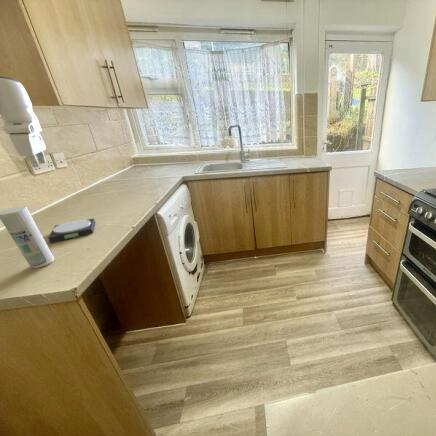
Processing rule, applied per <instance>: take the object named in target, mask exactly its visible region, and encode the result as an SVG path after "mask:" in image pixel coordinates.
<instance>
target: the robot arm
mask: <svg viewBox="0 0 436 436" xmlns="http://www.w3.org/2000/svg"><path fill="white" fill-rule="evenodd" d="M0 119H2V122H3V124H4V125H3V131H4V133H5V134H7V135H8V136H9V139H10V141H11V143H12V145H13V147H14V149H15V150H16V152H17V154H18V155H20V157H26V159H27V160H28V161H29V163H30V164H31V167H32V168H34V169H35V168H39V167H40V166H41V164H46V163H47V161H46V158H45V153H44V151H46V150H47V146H46V144H45V141H44V139H43V137H42V134H41V133H40V132H43V129H42V127H41V124H40V121H39V119H38V116H37V115H36V113H35V112H34V111H33V103H32V101H31V99H30V97H29V94H28V92H27V90H26V88H25V87H24V85H23V84H22V83H21V82H20V81H19V80H18V79H14V78H11V77H5V76H2V75H0Z"/></svg>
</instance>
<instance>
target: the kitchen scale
mask: <svg viewBox="0 0 436 436" xmlns="http://www.w3.org/2000/svg"><path fill="white" fill-rule="evenodd" d="M95 226H96V220H95V218H89V219H76V220H72V221H68V222H64V223H62V224H61V223H60V224H56V225H54V227H53V229H52V230H51V232H50V233H49V235H48V237H47V239H48V241H49V243H50V244H53V243H58V242H61V241H67V240H71V239H75V238H80V236H81V237H84V235H85V236H89V235H93V234H94V231H95ZM92 233H93V234H92ZM88 234H89V235H88Z"/></svg>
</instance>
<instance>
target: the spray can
mask: <svg viewBox="0 0 436 436" xmlns="http://www.w3.org/2000/svg"><path fill="white" fill-rule="evenodd" d="M0 221H1V223H2V224H3V226H4V227H5V229H6V230H7V232H8V234H9V236H10V237H11V238H12V240H13V241H14V243H15V245H16V247H17V248H18V249H19V251H20V252H21V254H22V256H23V258H24V259H25V260H26V262H27V264H28V265H29V267H30V268H31V269H38V268H41V267H42V268H43V267H45V266H47V265H51V263H53V262H54V261H55V257H54V255H53V253H52V251H51V250H50V247H49V246H48V244H47V241H46V239H45V238H44V237H43V235H42V233H41V231H40V229H39V226H38V225H37V223H36V222H35V220H34V218H33V216H32V215H31V213H30V211H29V209H28V207H27V206H16V207H11V208H7V209H4V210H1V211H0Z"/></svg>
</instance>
